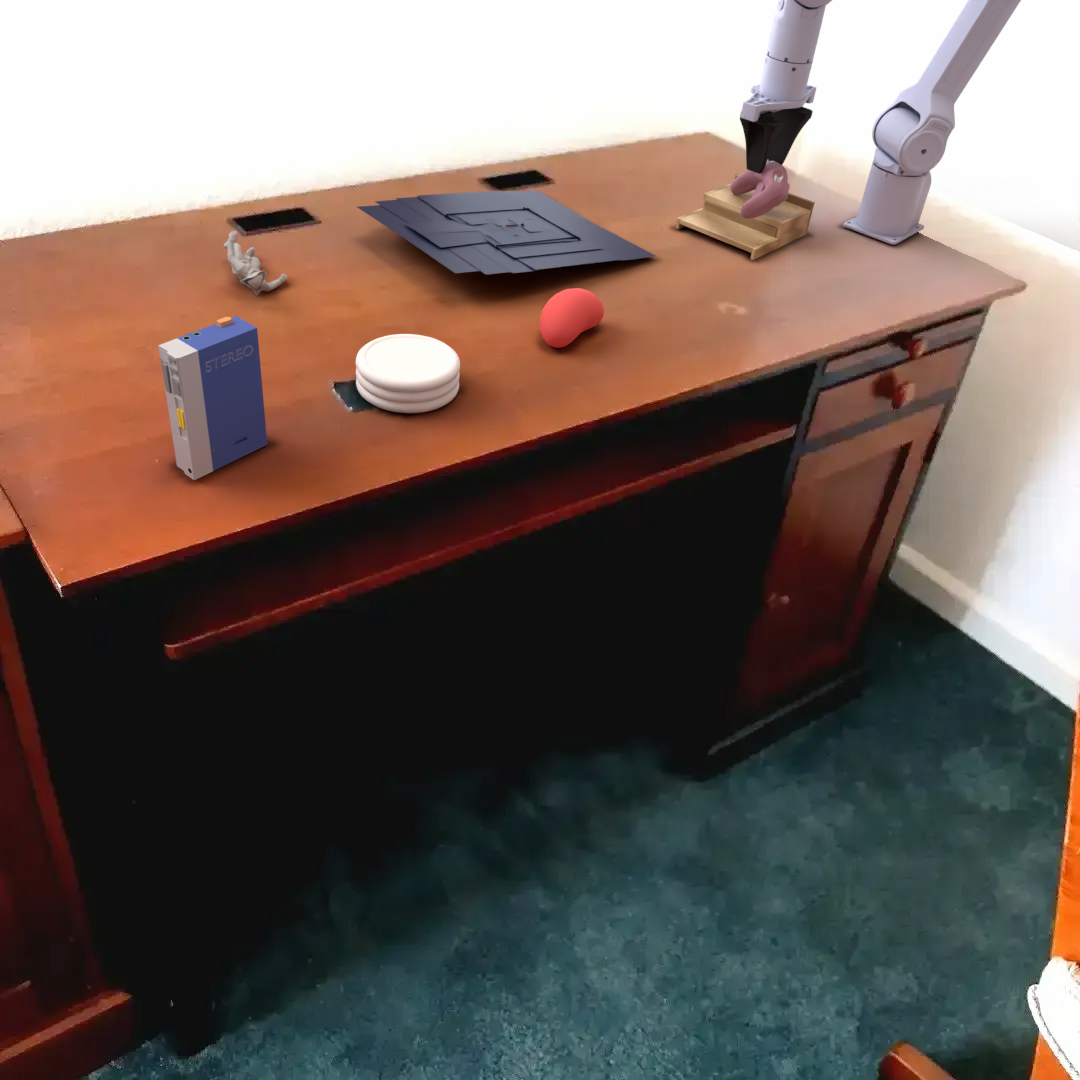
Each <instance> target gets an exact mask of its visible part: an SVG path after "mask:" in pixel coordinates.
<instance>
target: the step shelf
mask: <svg viewBox="0 0 1080 1080" xmlns="http://www.w3.org/2000/svg"><path fill="white" fill-rule="evenodd" d="M740 175H741V174H739V173H735V175H734V179H735V178H737V177H738V176H740ZM731 183H732V182H729V183H728V184H724V185H722V186H719V187H717V188H714V189H712V190H709V191H707V192H704V193H703V196H702V202H701V207H700V208H698V209H695V210H693V211H690V212H688V213H685V214H683V215H681V216H678V217H676V223H675V229H676V230H680V229H682V228H685V227H686V228H688V229H692V230H694V231H697V232H698V233H701V234H704V235H706V236H709V237H711V238H714V239H716V240H719V241H720V242H724V243H726V244H728V245H731V246H734V247H736V248H738V249H740V250H743V251H744V252H745V251H746V252H748V253H750V260H751V261H755V260H757V259H759V258H761V257H764V256H765V255H767V254H769V253H771V252H773V251H776V250H777V249H780V248H782V247H783V246H786V245H788V244H790V243H792V242H794V241H796V240H798V239H801V238H802V237H805V236H807V234H808V231H809V226H810V222H811V218H812V216H813V215H812V214H813V211H814V208H815V207H814V206H815V204H816V203H815V201H812V200H809V199H806V198H805V197H801V196H799V195H796V194H793V193H790V192H788V196H787V199H786V200H785V201H783V202H781V203H780V204H779V205H778V206H776V207H774V208H773V209H771V210H770V211H768V212H767V213H765V214H763V215H761V216H759V217H756V218H744V217H742V215H741V213H740V212H741V208H742V206H743V205H744V204H745V203H746V202H747V201H748V200H749V199H751V198H752V195H753V193H754V191H755V190H752V191H750V192H747V193H744V194H733V193H732V192H731V190H730V186H731Z"/></svg>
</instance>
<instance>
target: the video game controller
mask: <svg viewBox="0 0 1080 1080" xmlns="http://www.w3.org/2000/svg"><path fill="white" fill-rule="evenodd" d="M739 175H740V176H738V177H737V178H735V177H734V178H733V181H731V182H730V183H731V186H730V190H731V192H732V193H733V194H744V193H747V192H750V191H752V190H755V191H754V193H753V195H752V198H751V199H749V200H748V201H747V202H746V203H745V204H744V205H743V206H742V208H741V212H740V213H741V215H742V217H744V218H756V217H759V216H761V215H763V214H765V213H767V212H768V211H770V210H771V209H773V208H774V207H776V206H778V205H779V204H780V203H781V202H783V201H785V200H786V199H787V196H788V193H789V191H790V184H789V182H788V178H789V177H788V172H787V169H786V168H785V167H784V165H783V164H782V165H781V164H779V163H777V162H775V161H770V162H769V160H767V163H766V166H765V168H764V170H763V172H762V173H760V174H758V173H756V172H753V171H750V170H747V171H745V172H743V173H741V174H739Z"/></svg>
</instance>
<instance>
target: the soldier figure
mask: <svg viewBox="0 0 1080 1080" xmlns="http://www.w3.org/2000/svg"><path fill="white" fill-rule="evenodd" d="M238 236H239V235H238V231H237V230H231V231H230V232H229V234H228V239H227V241H226V242H224V244H223V248H224V249H227V254H226V255H227V262H228V263H229V264H230V265H231V268H232V269H231V272H232V274H233V275H234V277H236V279H237V280H239V282H240V283H241V284H243V285H245V286H247V287H248V289H251V290H252V291H253V293H254V295H255V296H258V295H259V294H260V293H261V292H266V293H268V292H271V291H272V290H275V289H277V288H278V287H279V286H280V285H282V283H284V282H286V280H287V279H288V278H289V277H288V276H287V275H288V274H286V273H284V272H282V273H281V275H280V276H279V277H278V278H276V279H274V280H271V281H269V282H268V281H267V280H266V277H267V269H264V270H261V269H260V267H261V264H262V263H261V261H260V259H259V258H258V257H256V256H255V253H256V248H255V246H254V247H253V246H252V247H249V248H248V249H247V250H246V252H245V253H243V251H242V246H241V245H240V244H239V243H237V240H238Z"/></svg>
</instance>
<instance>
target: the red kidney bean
mask: <svg viewBox="0 0 1080 1080" xmlns="http://www.w3.org/2000/svg"><path fill="white" fill-rule="evenodd" d="M604 314H605V308H604V305H603V303H602V301H601V300H600V298H599V297H598V296H597V295H596V294H594V293H593V292H591V291H590V290H587V289H584V288H580V287H573V288H566V289H563V290H560V291H558V292H557V293H555V294H554V295H553V296H552V297H551V298H549V299H548V301H547V302H546V304H545V305H544V307H542V310H541V313H540V318H539V329H540V333H541V336H542V339H543V340H544V342H545V343H546V344H547V345H548V346H550V347H552V348H555V349H556V348H557V349H559V348H565V347H566V346H568V345H570V344H571V343H572V342H573V341H574V340H575V339H576V338H577V337H579V335H580V334H581V333H583V332H585V331H588V330H590V329H591V328H594V327H596V326H597V325H598V324H600V323H601V321H602V320H603V318H604V316H605V315H604Z"/></svg>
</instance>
